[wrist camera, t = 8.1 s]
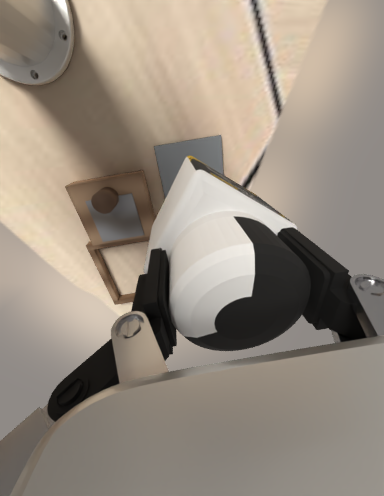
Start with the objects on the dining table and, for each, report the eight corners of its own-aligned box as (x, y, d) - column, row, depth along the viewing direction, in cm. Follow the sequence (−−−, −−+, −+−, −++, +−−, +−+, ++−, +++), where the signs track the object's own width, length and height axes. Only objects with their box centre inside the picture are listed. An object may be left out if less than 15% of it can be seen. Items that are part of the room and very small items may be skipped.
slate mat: (154, 146, 29) (153, 146, 29) (220, 135, 29) (221, 135, 29) (168, 209, 34) (168, 210, 34) (224, 200, 34) (224, 201, 34)
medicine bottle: (256, 195, 18) (377, 285, 7) (214, 255, 21) (258, 379, 10) (187, 153, 15) (220, 198, 5) (151, 227, 18) (125, 351, 8)
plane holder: (61, 184, 31) (38, 194, 26) (155, 168, 31) (152, 175, 26) (116, 299, 44) (109, 321, 39) (182, 288, 44) (184, 309, 39)
